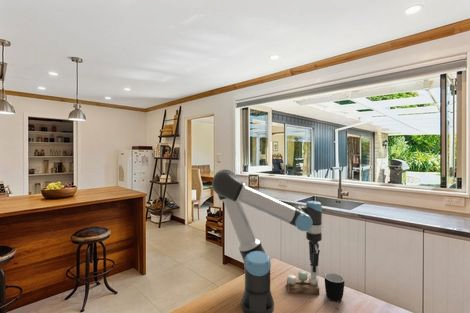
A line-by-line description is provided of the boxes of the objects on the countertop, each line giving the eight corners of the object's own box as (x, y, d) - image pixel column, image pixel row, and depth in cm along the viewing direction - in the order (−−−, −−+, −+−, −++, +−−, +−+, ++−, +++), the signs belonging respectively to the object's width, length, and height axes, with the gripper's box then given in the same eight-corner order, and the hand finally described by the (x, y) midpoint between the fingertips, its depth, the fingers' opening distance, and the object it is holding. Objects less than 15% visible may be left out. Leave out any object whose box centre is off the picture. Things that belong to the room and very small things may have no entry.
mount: (288, 293, 125) (289, 287, 125) (286, 284, 133) (286, 278, 133) (319, 294, 124) (319, 288, 124) (315, 285, 132) (315, 280, 132)
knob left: (288, 289, 127) (288, 278, 127) (286, 284, 132) (286, 274, 131) (296, 289, 127) (296, 279, 127) (295, 284, 131) (295, 274, 131)
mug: (346, 304, 116) (347, 283, 116) (326, 302, 118) (327, 281, 117) (339, 290, 128) (339, 270, 128) (321, 288, 129) (321, 269, 129)
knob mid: (299, 285, 127) (299, 274, 127) (297, 280, 131) (297, 270, 131) (307, 285, 126) (307, 274, 126) (306, 280, 131) (306, 270, 131)
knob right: (310, 290, 126) (310, 279, 126) (308, 285, 131) (308, 275, 131) (318, 290, 126) (318, 279, 126) (316, 285, 131) (316, 275, 130)
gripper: (325, 236, 121) (324, 284, 122) (318, 227, 134) (317, 271, 135) (309, 236, 121) (309, 283, 122) (303, 227, 134) (303, 270, 135)
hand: (313, 277), depth 128 cm, fingers closed
